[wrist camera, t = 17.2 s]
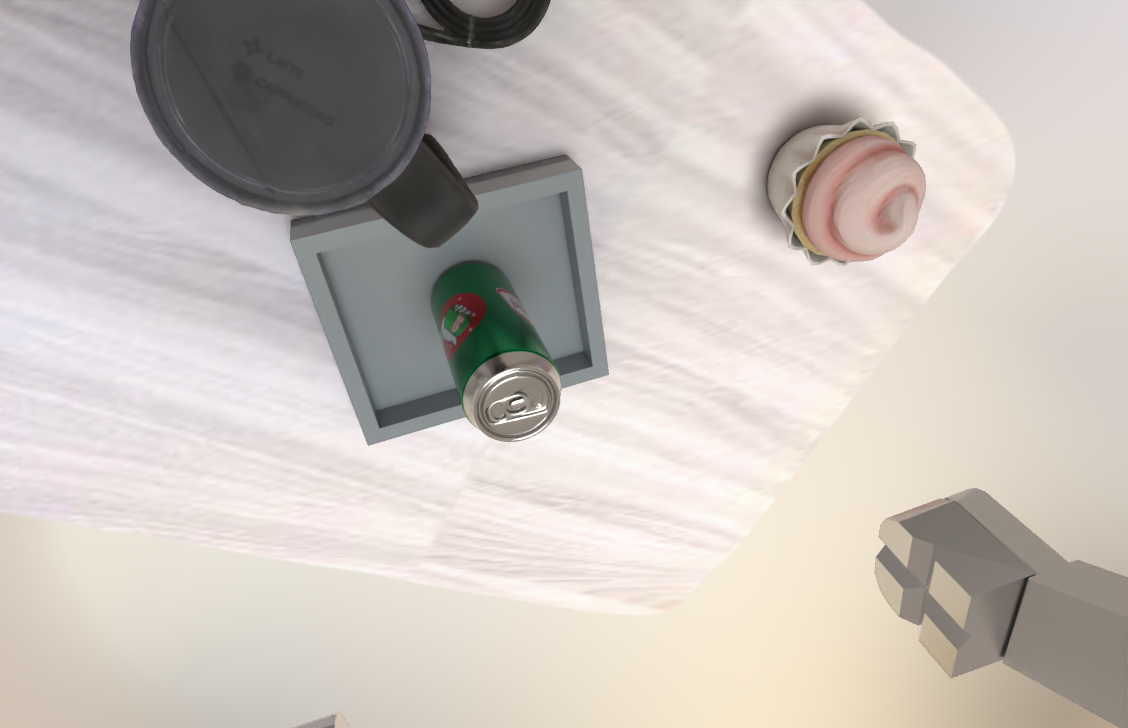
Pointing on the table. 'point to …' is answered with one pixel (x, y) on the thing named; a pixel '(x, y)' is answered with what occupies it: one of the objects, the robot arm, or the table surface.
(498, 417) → the soda can
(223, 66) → the milk frother
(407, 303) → the tray
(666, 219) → the table surface
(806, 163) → the cupcake
